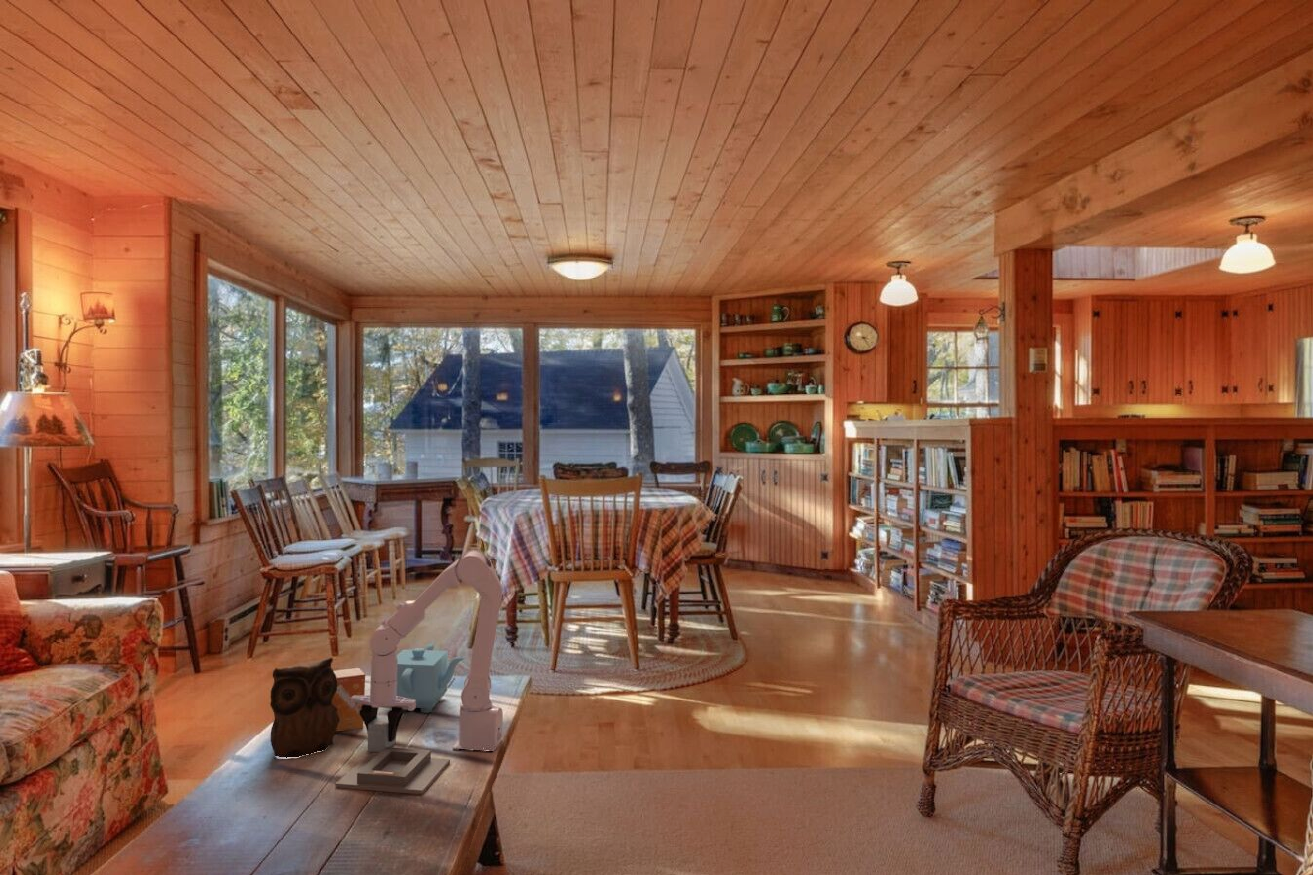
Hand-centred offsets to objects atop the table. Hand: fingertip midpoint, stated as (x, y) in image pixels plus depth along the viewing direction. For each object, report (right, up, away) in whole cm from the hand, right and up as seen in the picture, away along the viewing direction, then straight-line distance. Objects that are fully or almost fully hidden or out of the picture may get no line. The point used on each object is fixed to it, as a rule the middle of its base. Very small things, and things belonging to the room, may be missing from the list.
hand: (382, 739), depth 192 cm
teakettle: (0, -1, +29) cm, 29 cm away
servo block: (0, -2, 0) cm, 2 cm away
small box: (-13, -1, +11) cm, 17 cm away
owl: (-17, -1, -2) cm, 18 cm away
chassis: (+7, -2, -15) cm, 17 cm away
